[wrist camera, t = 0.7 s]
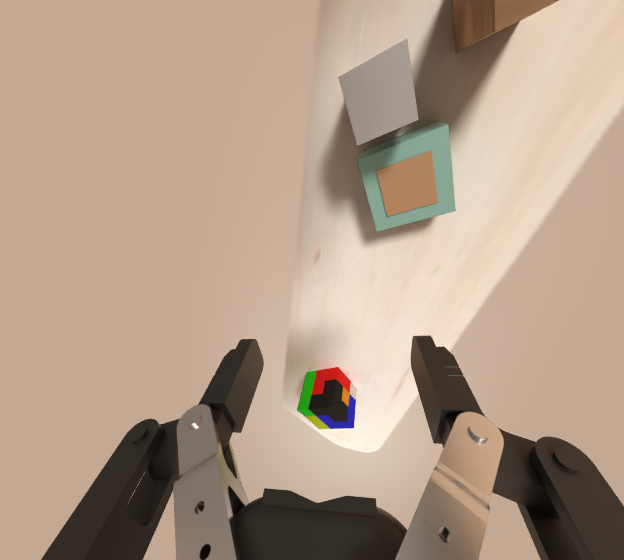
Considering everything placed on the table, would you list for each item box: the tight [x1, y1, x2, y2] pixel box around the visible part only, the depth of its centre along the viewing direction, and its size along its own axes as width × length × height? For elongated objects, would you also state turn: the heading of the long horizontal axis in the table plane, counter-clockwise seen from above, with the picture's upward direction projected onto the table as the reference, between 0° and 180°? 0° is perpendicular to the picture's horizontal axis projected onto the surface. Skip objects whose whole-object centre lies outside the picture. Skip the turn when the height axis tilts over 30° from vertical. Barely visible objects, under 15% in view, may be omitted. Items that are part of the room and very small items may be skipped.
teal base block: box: [357, 120, 456, 232], centre depth 28 cm, size 9×9×5 cm
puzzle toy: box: [297, 367, 357, 429], centre depth 60 cm, size 10×10×10 cm
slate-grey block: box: [339, 39, 419, 146], centre depth 22 cm, size 5×5×10 cm
